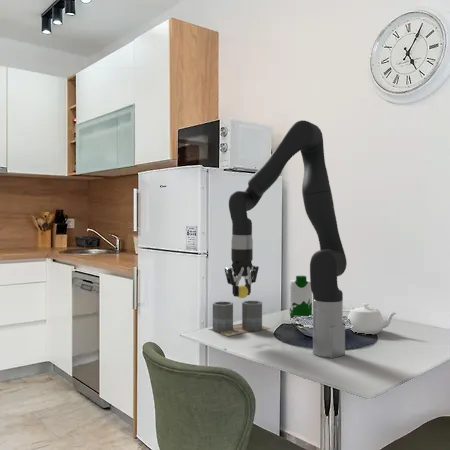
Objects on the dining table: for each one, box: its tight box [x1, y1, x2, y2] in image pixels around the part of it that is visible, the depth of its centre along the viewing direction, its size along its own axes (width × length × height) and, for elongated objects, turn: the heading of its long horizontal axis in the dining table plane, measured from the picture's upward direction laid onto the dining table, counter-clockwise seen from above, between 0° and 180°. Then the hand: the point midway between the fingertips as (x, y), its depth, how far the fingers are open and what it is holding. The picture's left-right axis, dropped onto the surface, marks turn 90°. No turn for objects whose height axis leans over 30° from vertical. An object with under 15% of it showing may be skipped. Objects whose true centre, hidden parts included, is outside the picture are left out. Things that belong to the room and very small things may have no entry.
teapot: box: [343, 302, 398, 335], centre depth 178 cm, size 22×14×11 cm, turn 59°
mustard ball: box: [237, 284, 249, 299], centre depth 168 cm, size 5×5×5 cm
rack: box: [208, 300, 272, 338], centre depth 178 cm, size 13×20×11 cm, turn 126°
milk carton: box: [289, 275, 313, 319], centre depth 188 cm, size 9×9×20 cm
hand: (241, 295), depth 168 cm, fingers closed on mustard ball, 4 cm apart
